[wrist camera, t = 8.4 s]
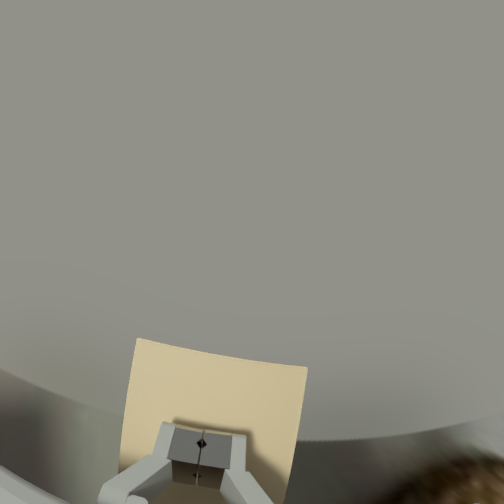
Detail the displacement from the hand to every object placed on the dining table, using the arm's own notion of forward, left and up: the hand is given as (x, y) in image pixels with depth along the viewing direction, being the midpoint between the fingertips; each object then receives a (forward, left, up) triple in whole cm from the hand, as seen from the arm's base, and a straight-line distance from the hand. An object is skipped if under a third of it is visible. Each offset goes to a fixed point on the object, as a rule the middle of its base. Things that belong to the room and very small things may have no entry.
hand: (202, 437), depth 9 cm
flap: (0, +3, -5) cm, 6 cm away
